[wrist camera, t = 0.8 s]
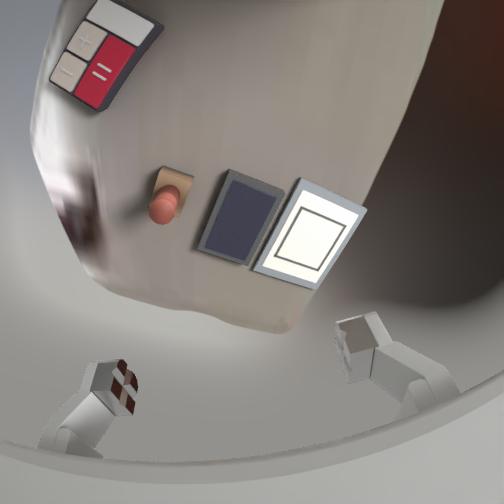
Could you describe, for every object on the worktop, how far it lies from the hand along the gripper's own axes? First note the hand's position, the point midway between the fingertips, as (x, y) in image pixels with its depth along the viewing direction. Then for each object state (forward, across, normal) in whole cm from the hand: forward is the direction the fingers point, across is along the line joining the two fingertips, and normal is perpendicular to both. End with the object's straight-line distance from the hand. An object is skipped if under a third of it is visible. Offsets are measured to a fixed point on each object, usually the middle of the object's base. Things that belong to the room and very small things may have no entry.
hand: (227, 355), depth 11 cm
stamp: (+38, +9, +4) cm, 39 cm away
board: (+38, -10, +18) cm, 43 cm away
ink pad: (+38, 0, +12) cm, 39 cm away
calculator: (+38, +14, -20) cm, 45 cm away
